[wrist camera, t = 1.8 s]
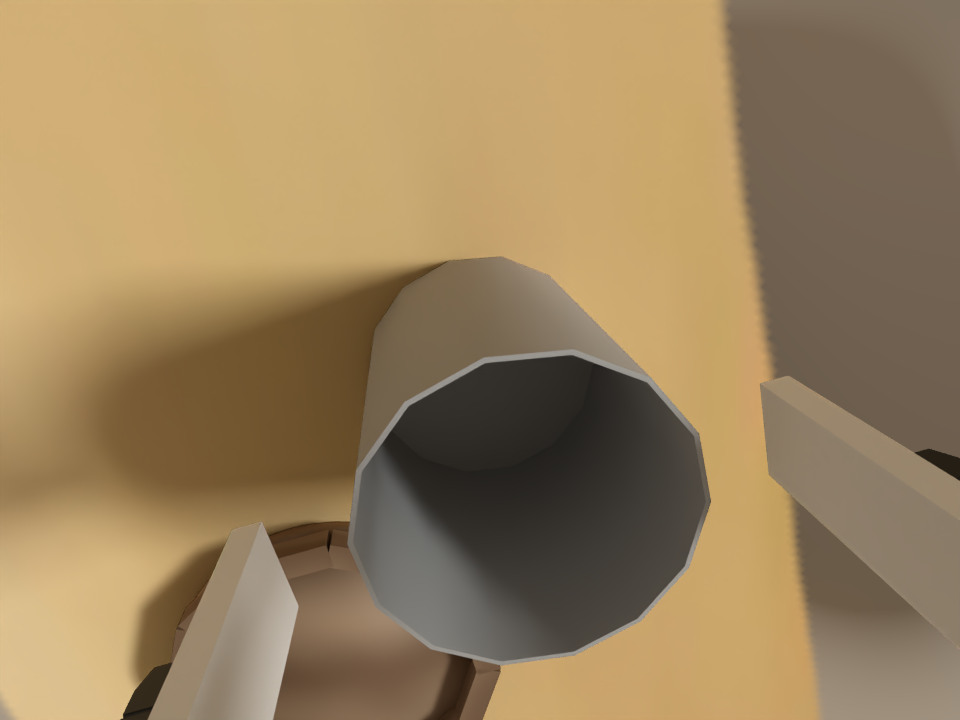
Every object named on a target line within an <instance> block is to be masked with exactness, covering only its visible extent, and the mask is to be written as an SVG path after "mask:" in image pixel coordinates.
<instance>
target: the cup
mask: <svg viewBox="0 0 960 720" xmlns="http://www.w3.org/2000/svg"><path fill="white" fill-rule="evenodd" d="M710 503H711V499H710V493H709V487H708V482H707V476H706V470H705V465H704V459H703V453H702V447H701V442H700V436H699V433H698V432H697V431H696V429H695V428H694V427H693V426H692V425H691V424H690V422H689V421H688V420H687V419H686V418H685V417H684V416H683V414H682V413H681V412H680V411H679V410H678V409H677V407H676V406H675V405H674V404H673V403H672V402H671V400H670V399H669V398H668V397H667V396H666V395H665V393H664V392H663V391H662V390H661V389H660V388H659V387H658V385H657V384H656V383H655V382H654V381H653V380H652V378H651V377H650V376H649V375H648V374H647V373H646V372H645V371H644V370H643V369H642V368H641V367H640V366H639V365H638V364H637V363H636V362H635V361H634V360H633V359H632V358H631V357H630V356H629V355H628V354H627V353H626V352H625V351H624V350H623V349H622V348H621V347H620V346H619V345H618V344H617V343H616V342H615V341H614V340H613V339H612V338H611V337H610V336H609V335H608V334H607V333H606V332H605V331H604V330H603V329H602V328H601V327H600V326H599V325H598V324H597V323H596V322H595V321H594V320H593V319H592V318H591V317H590V316H589V315H588V314H587V313H586V312H585V311H584V310H583V309H582V308H581V307H580V306H579V305H578V304H577V303H576V302H575V301H574V300H573V299H572V298H571V297H570V296H569V295H568V294H567V293H566V292H565V291H564V290H563V289H562V288H561V287H560V286H559V285H558V284H557V283H556V282H555V281H554V280H553V279H552V278H551V277H550V276H549V275H547V274H544V273H542V272H539V271H537V270H534V269H532V268H529V267H527V266H524V265H522V264H519V263H517V262H514V261H512V260H509V259H507V258H504V257H491V258H478V259H465V260H452V261H448V262H446V263H444V264H443V265H441V266H439V267H437V268H436V269H434V270H432V271H430V272H429V273H427V274H425V275H424V276H422V277H420V278H418V279H417V280H415V281H413V282H411V283H410V284H408V285H406V286H404V287H403V288H402V290H401V291H400V293H399V294H398V296H397V297H396V299H395V300H394V301H393V303H392V304H391V306H390V307H389V309H388V310H387V312H386V313H385V315H384V316H383V318H382V319H381V321H380V322H379V324H378V325H377V327H376V328H375V330H374V337H373V345H372V352H371V360H370V367H369V375H368V383H367V390H366V398H365V406H364V413H363V421H362V429H361V436H360V444H359V451H358V459H357V467H356V475H355V483H354V492H353V500H352V509H351V517H350V525H349V534H348V542H347V545H348V547H349V549H350V551H351V554H352V556H353V558H354V560H355V562H356V565H357V567H358V569H359V571H360V574H361V576H362V578H363V580H364V583H365V585H366V587H367V589H368V592H369V594H370V596H371V598H372V601H373V603H374V605H375V607H376V608H377V609H378V610H380V611H381V612H382V613H384V614H385V615H386V616H388V617H389V618H390V619H392V620H393V621H394V622H396V623H397V624H398V625H400V626H401V627H402V628H403V629H405V630H406V631H407V632H409V633H410V634H411V635H413V636H414V637H415V638H417V639H418V640H419V641H421V642H422V643H423V644H425V645H426V646H427V647H428V648H430V649H432V650H436V651H441V652H445V653H449V654H454V655H458V656H462V657H467V658H471V659H475V660H480V661H484V662H488V663H493V664H497V665H508V664H515V663H523V662H530V661H537V660H545V659H552V658H559V657H566V656H574V655H576V654H578V653H580V652H582V651H584V650H586V649H588V648H590V647H592V646H594V645H596V644H598V643H599V642H601V641H603V640H605V639H607V638H609V637H611V636H613V635H615V634H617V633H619V632H621V631H623V630H625V629H627V628H629V627H630V626H632V625H634V624H636V623H638V622H640V621H641V620H642V619H643V618H644V617H645V616H646V615H647V614H648V612H649V611H650V610H651V609H652V608H653V607H654V606H655V605H656V604H657V603H658V601H659V600H660V599H661V598H662V597H663V596H664V595H665V594H666V593H667V591H668V590H669V589H670V588H671V587H672V586H673V585H674V584H675V583H676V582H677V580H678V579H679V578H680V577H681V576H682V575H683V574H684V573H685V572H686V570H687V569H688V568H689V566H690V563H691V560H692V557H693V554H694V551H695V548H696V545H697V542H698V539H699V536H700V533H701V530H702V527H703V524H704V521H705V518H706V515H707V512H708V509H709V506H710Z"/></svg>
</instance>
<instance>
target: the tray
mask: <svg viewBox="0 0 960 720" xmlns="http://www.w3.org/2000/svg"><path fill="white" fill-rule="evenodd" d="M349 525H350V522H327V523H318V524H310V525H305V526H301V527H296V528H291V529H288V530H285V531H282V532H279V533H276V534H273V535H270V536H268V537H269V539H270V541H271V544H272V546H273V548H274V551H275V553H276V555H277V557H278V560H279V562H280V564H281V567H282V569H283V571H284V574H285V576H286V578H287V580H288V583H289V585H290V587H291V590H292V592H293V594H294V596H295V599H296V601H297V603H298V606H299V607H298V611H297V616H296V620H295V625H294V629H293V633H292V638H291V642H290V647H289V651H288V655H287V660H286V664H285V669H284V673H283V677H282V682H281V686H280V691H279V695H278V699H277V704H276V708H275V713H274V717H273V720H483V717H484V714H485V712H486V709H487V707H488V704H489V701H490V699H491V696H492V693H493V691H494V688H495V685H496V683H497V680H498V677H499V675H500V669H501V668H500V665H497V664H493V663H488V662H484V661H480V660H475V659H471V658H467V657H462V656H458V655H454V654H449V653H445V652H441V651H436V650H432V649H430V648H428V647H427V646H426V645H425V644H423V643H422V642H421V641H419V640H418V639H417V638H415V637H414V636H413V635H411V634H410V633H409V632H407V631H406V630H405V629H403V628H402V627H401V626H400V625H398V624H397V623H396V622H394V621H393V620H392V619H390V618H389V617H388V616H386V615H385V614H384V613H382V612H381V611H380V610H378V609H377V608H376V607H375V605H374V603H373V601H372V598H371V596H370V594H369V592H368V589H367V587H366V585H365V583H364V580H363V578H362V576H361V574H360V571H359V569H358V567H357V565H356V562H355V560H354V558H353V556H352V554H351V551H350V549H349V547H348V545H347V542H348V534H349ZM209 580H210V579H209ZM209 580H208V581H207V582H206V583H205V585H204V586H203V588H202V590H201V591H200V593H199V594H198V596H197V597H196V599H195V600H194V601H193V602H192V603H190V604H189V605H188V606H187V607H186V609H185V611H184V613H183V615H182V618H181V620H180V622H179V624H178V626H177V629H176V633H175V639H174V645H173V651H172V657H171V663H173V661H174V659H175V657H176V655H177V652H178V650H179V648H180V646H181V643H182V641H183V639H184V637H185V634H186V632H187V630H188V628H189V625H190V623H191V621H192V619H193V616H194V614H195V612H196V610H197V607H198V605H199V603H200V600H201V598H202V596H203V594H204V591H205V589H206V587H207V585H208V582H209Z"/></svg>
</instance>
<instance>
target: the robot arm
mask: <svg viewBox="0 0 960 720" xmlns="http://www.w3.org/2000/svg"><path fill="white" fill-rule="evenodd" d="M760 389H761V399H762V410H763V420H764V430H765V441H766V451H767V461H768V472H769V475H770V476H771V477H772V478H773V479H774V480H775V481H776V482H777V483H778V484H780V485H781V486H782V487H783V488H784V489H785V490H786V491H787V492H788V493H789V494H790V495H791V496H793V497H794V498H795V499H796V500H797V501H798V502H799V503H800V504H801V505H802V506H803V507H805V508H806V509H807V510H808V511H809V512H810V513H811V514H812V515H813V516H814V517H816V518H817V519H818V520H819V521H820V522H821V523H822V524H823V525H824V526H825V527H826V528H827V529H829V530H830V531H831V532H832V533H833V534H834V535H835V536H836V537H837V538H838V539H839V540H841V541H842V542H843V543H844V544H845V545H846V546H847V547H848V548H849V549H850V550H851V551H852V552H854V553H855V554H856V555H857V556H858V557H859V558H860V559H861V560H862V561H863V562H864V563H866V564H867V565H868V566H869V567H870V568H871V569H872V570H873V571H874V572H875V573H876V574H877V575H879V576H880V577H881V578H882V579H883V580H884V581H885V582H886V583H887V584H888V585H890V586H891V587H892V588H893V589H894V590H895V591H896V592H897V593H898V594H899V595H900V596H901V597H903V598H904V599H905V600H906V601H907V602H908V603H909V604H910V605H911V606H912V607H914V609H916V610H917V611H918V612H919V613H920V614H921V615H922V616H923V617H924V618H925V619H926V620H928V621H929V622H930V623H931V624H932V625H933V626H934V627H935V628H936V629H937V630H938V631H940V632H941V633H942V634H943V635H944V636H945V637H946V638H947V639H948V640H950V642H951V643H953V644H954V645H955V646H956V647H957V648H958V649H959V650H960V458H958V457H955V456H951V455H948V454H945V453H941V452H938V451H935V450H932V449H926V450H922V451H919V452H915V453H913V452H912V451H910V450H908V449H907V448H905V447H904V446H902V445H900V444H899V443H897V442H896V441H894V440H892V439H891V438H889V437H887V436H886V435H884V434H882V433H881V432H879V431H877V430H876V429H874V428H873V427H871V426H869V425H868V424H866V423H865V422H863V421H861V420H860V419H858V418H856V417H855V416H853V415H852V414H850V413H848V412H847V411H845V410H843V409H842V408H840V407H838V406H837V405H835V404H834V403H832V402H830V401H829V400H827V399H825V398H824V397H822V396H821V395H819V394H817V393H816V392H814V391H812V390H810V389H809V388H808V387H806V386H804V385H803V384H801V383H799V382H798V381H796V380H795V379H793V378H791V377H790V376H786V377H782V378H779V379H775V380H771V381H768V382H764V383H760ZM298 607H299V606H298V603H297V601H296V599H295V596H294V594H293V592H292V590H291V587H290V585H289V583H288V580H287V578H286V576H285V574H284V571H283V569H282V567H281V564H280V562H279V560H278V557H277V555H276V553H275V551H274V548H273V546H272V544H271V541H270V539H269V537H268V535H267V532H266V530H265V528H264V525H263V523H262V521H261V522H257V523H253V524H250V525H246V526H242V527H239V528H235V529H232V531H231V533H230V535H229V537H228V540H227V542H226V544H225V546H224V549H223V551H222V553H221V555H220V558H219V560H218V562H217V564H216V567H215V569H214V571H213V573H212V576H211V578H210V580H209V582H208V585H207V587H206V589H205V591H204V594H203V596H202V598H201V600H200V603H199V605H198V607H197V610H196V612H195V614H194V616H193V619H192V621H191V623H190V625H189V628H188V630H187V632H186V634H185V637H184V639H183V641H182V643H181V646H180V648H179V650H178V652H177V655H176V657H175V659H174V661H173V663H169V664H166V665H162V666H158V667H155V668H154V669H153V670H152V671H151V672H150V673H149V675H148V676H147V677H146V678H145V679H144V680H143V682H142V683H141V684H140V685H139V686H138V687H137V689H136V690H135V691H134V693H133V695H132V697H131V699H130V701H129V703H128V705H127V707H126V709H125V711H124V713H123V719H121V720H273V717H274V713H275V708H276V704H277V699H278V695H279V691H280V686H281V682H282V677H283V673H284V669H285V664H286V660H287V655H288V651H289V647H290V642H291V638H292V633H293V629H294V625H295V620H296V616H297V611H298Z"/></svg>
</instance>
